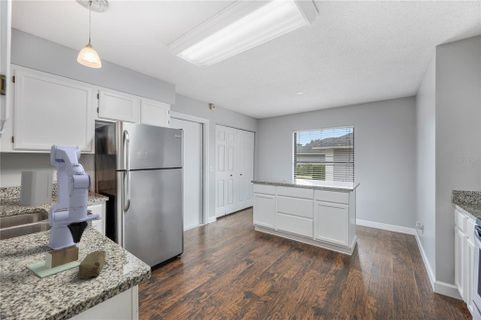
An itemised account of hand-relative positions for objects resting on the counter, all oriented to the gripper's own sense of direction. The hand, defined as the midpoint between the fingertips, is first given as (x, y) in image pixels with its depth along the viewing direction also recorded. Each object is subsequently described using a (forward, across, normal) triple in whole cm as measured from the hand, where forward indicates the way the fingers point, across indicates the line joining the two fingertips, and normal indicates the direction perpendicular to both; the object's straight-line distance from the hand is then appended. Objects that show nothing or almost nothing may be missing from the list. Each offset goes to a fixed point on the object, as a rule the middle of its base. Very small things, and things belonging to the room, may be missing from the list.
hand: (76, 242), depth 82 cm
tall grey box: (+7, +28, +143) cm, 146 cm away
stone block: (+7, -1, -14) cm, 16 cm away
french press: (+7, +19, +40) cm, 45 cm away
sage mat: (+6, -6, 0) cm, 9 cm away
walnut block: (+4, 0, 0) cm, 4 cm away
